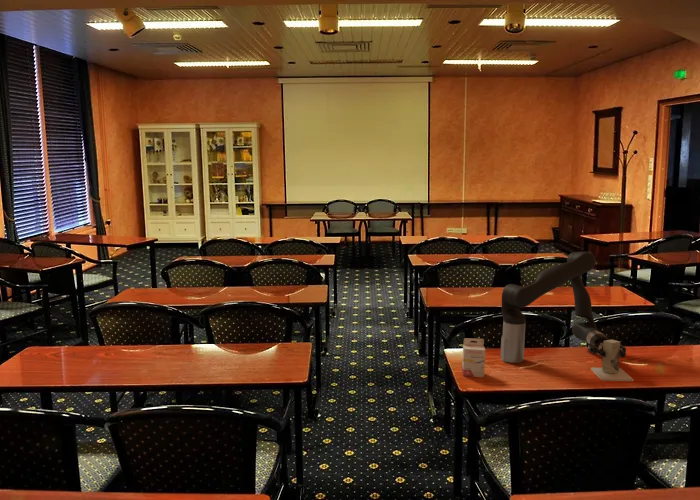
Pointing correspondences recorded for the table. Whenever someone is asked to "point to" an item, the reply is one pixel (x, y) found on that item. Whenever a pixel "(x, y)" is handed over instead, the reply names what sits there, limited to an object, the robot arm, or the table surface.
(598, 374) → the board
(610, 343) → the box
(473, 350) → the ink cartridge box
